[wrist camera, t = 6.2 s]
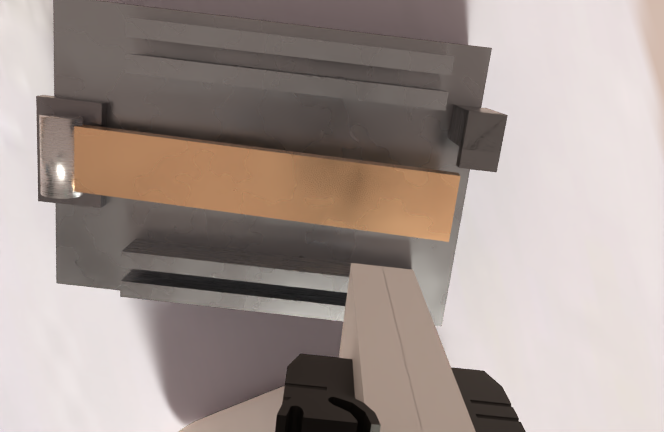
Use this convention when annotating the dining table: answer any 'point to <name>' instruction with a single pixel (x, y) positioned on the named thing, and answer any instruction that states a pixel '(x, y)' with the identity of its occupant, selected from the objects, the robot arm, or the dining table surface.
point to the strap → (244, 179)
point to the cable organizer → (243, 416)
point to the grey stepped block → (260, 131)
